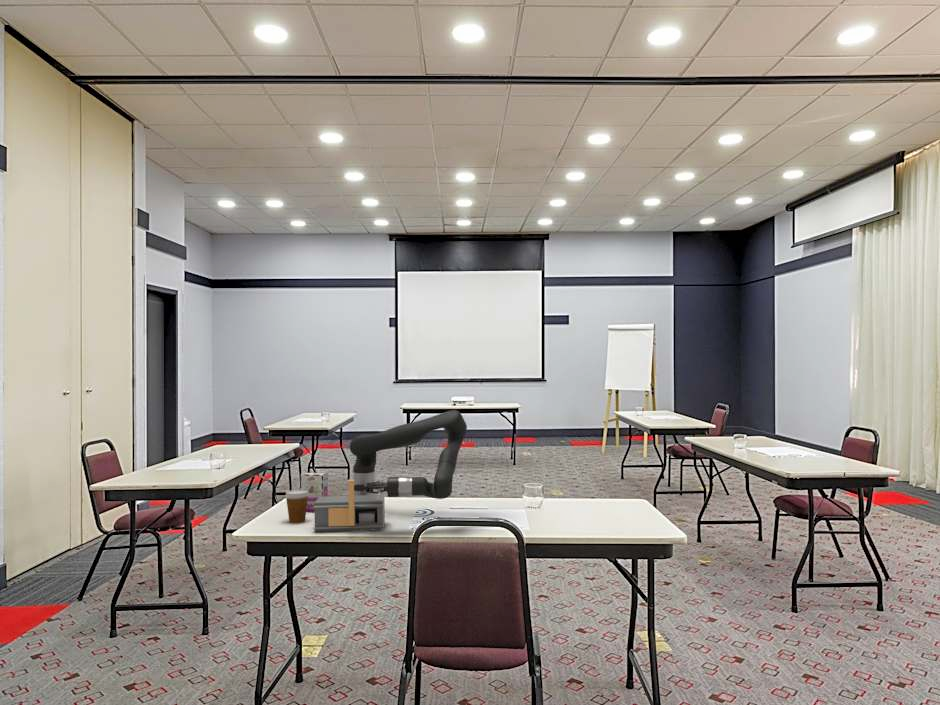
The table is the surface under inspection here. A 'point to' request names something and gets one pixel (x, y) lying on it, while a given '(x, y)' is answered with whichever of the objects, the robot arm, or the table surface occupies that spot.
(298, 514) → the disposable coffee cup
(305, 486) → the candy bar box
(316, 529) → the case
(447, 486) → the robot arm
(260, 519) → the table surface
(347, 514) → the side door
